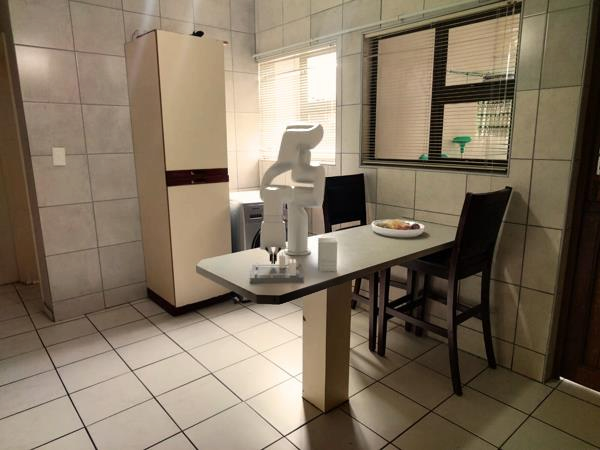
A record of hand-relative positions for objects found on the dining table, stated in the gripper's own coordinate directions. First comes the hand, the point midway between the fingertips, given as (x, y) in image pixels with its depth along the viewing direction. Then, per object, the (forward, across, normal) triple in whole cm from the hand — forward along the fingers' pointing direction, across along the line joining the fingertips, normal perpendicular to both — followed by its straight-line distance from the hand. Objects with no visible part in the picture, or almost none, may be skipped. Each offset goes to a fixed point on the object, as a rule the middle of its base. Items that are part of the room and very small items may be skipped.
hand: (273, 262), depth 163 cm
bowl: (+4, -72, -70) cm, 100 cm away
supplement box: (+4, -22, -4) cm, 23 cm away
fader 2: (+1, -8, +9) cm, 12 cm away
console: (+4, -2, +5) cm, 6 cm away
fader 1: (+1, -4, 0) cm, 4 cm away
